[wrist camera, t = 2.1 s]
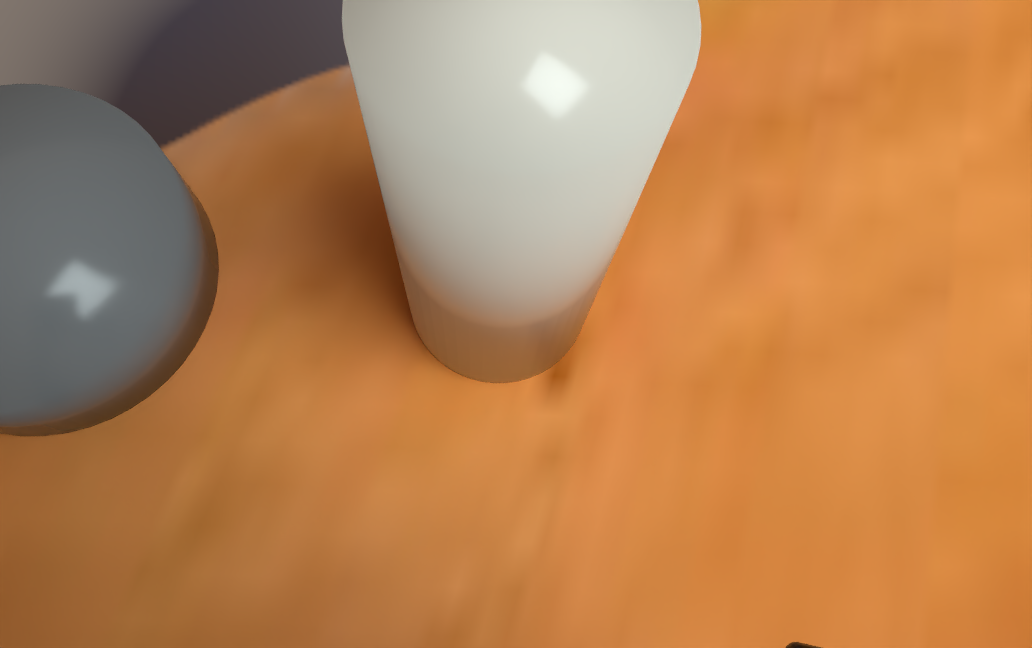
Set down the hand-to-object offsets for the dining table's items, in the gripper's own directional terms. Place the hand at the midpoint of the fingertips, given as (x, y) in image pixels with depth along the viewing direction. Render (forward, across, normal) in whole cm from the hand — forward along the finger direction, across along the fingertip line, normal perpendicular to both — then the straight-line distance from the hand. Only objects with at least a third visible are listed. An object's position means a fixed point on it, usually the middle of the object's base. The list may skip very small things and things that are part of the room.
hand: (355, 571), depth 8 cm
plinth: (+13, +12, +6) cm, 19 cm away
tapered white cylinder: (+15, 0, +4) cm, 16 cm away
